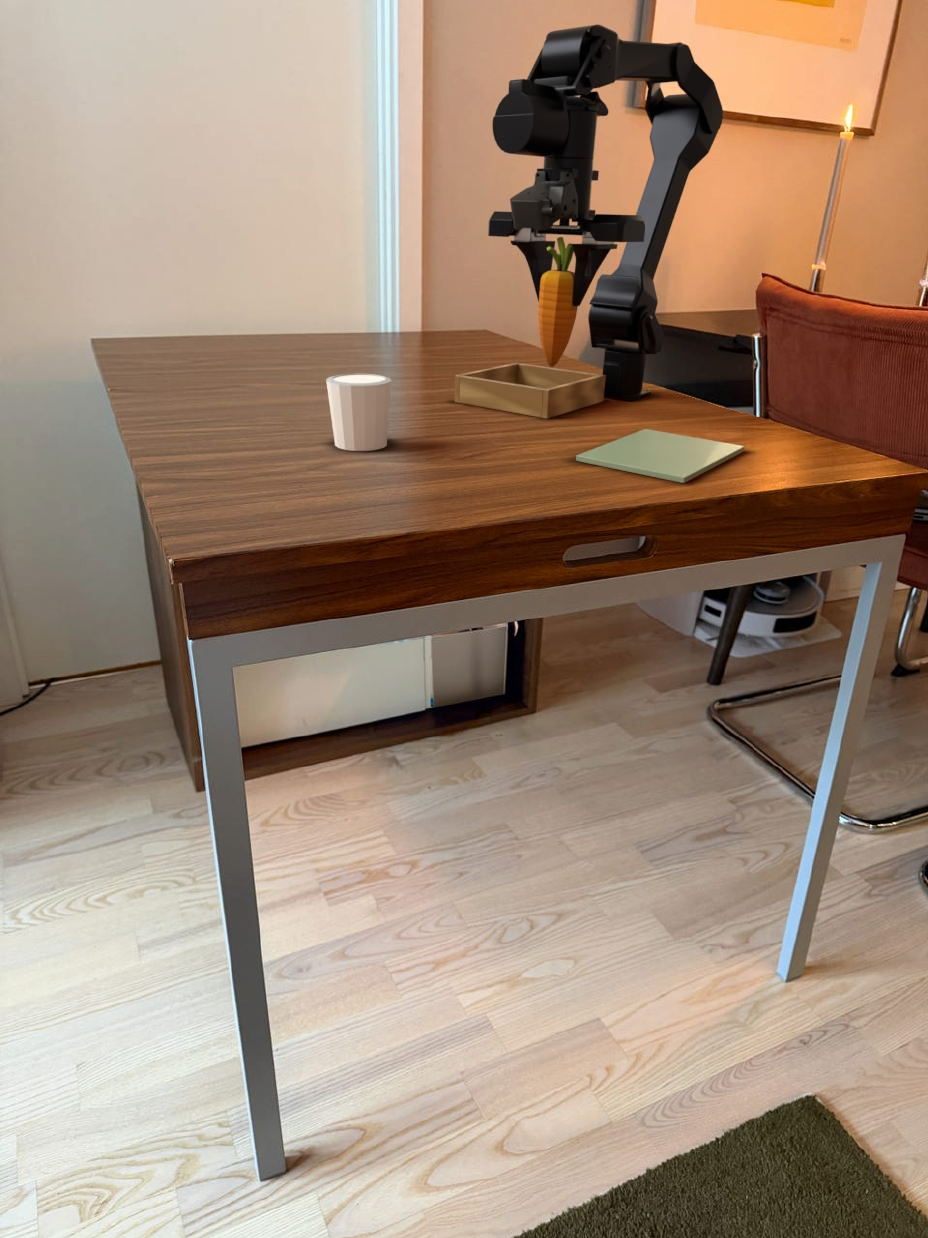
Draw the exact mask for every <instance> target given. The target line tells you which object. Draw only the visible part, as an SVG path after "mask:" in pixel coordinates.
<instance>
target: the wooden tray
mask: <svg viewBox="0 0 928 1238" xmlns="http://www.w3.org/2000/svg"><path fill="white" fill-rule="evenodd" d="M605 379H606V375H602V374H599V373H594V372H593V373H592V372H586V371H578V370H571V369H565V368H558V367H550V366H543V365H536V364H530V363H529V364H528V363H523V362H513V363H508V364H503V365H498V366H494V367H489V368H484V369H479V370H474V371H470V372H465V373H459V374H455V375H454V402H455V403H458V404H463V405H469V406H475V407H480V408H487V409H490V410H498V411H503V412H508V413H513V414H519V415H525V416H528V417H529V416H530V417H536V418H540V419H551V418H554V417H557V416H560V415H563V414H568V413H569V412H574V411H577V410H579V409H583V408H586V407H590V406H592V405H596V404H600V403H602V402H604V398H605V396H604V389H605Z"/></svg>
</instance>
